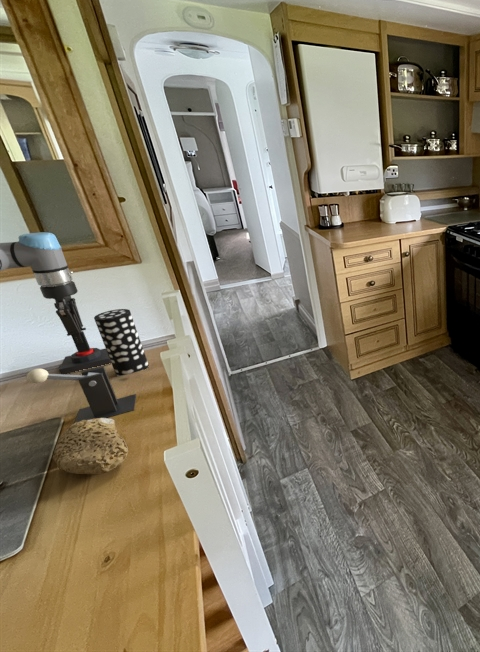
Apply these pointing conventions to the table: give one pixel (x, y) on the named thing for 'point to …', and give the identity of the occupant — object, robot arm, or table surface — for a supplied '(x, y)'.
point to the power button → (85, 352)
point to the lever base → (102, 397)
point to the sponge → (90, 447)
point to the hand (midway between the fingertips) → (84, 350)
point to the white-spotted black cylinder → (121, 341)
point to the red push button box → (84, 361)
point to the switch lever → (51, 376)
